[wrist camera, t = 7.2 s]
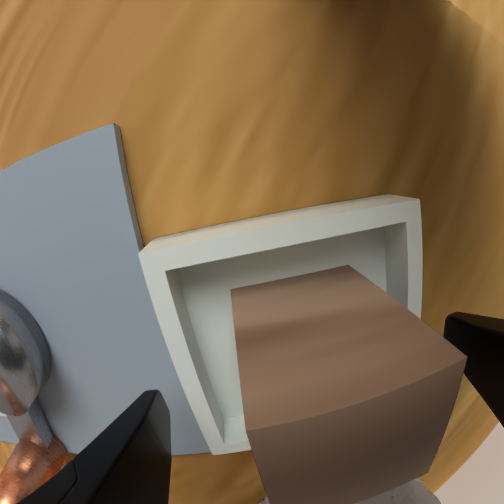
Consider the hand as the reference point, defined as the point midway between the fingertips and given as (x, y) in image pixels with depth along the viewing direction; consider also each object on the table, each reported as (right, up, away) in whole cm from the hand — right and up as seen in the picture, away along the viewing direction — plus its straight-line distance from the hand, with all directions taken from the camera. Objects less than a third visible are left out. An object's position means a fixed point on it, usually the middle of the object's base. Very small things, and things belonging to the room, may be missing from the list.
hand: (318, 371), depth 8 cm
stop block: (0, +1, +2) cm, 2 cm away
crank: (-12, -3, +2) cm, 13 cm away
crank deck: (-12, 0, +2) cm, 12 cm away
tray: (0, +1, +3) cm, 3 cm away
